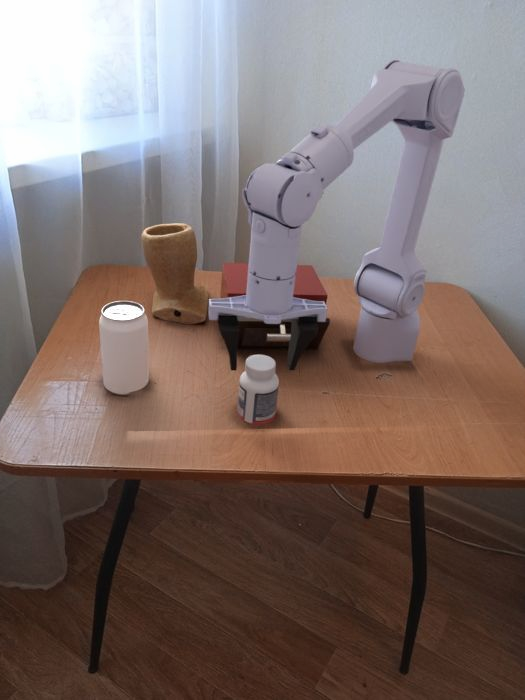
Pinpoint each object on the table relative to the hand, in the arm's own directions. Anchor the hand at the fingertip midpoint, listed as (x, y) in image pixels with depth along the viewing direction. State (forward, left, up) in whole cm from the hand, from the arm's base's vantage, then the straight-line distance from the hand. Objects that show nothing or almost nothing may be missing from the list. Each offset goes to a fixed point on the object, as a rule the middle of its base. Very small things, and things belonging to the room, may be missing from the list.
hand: (262, 366), depth 73 cm
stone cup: (+11, -32, -8) cm, 35 cm away
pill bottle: (0, 0, -8) cm, 8 cm away
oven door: (-5, -16, -8) cm, 18 cm away
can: (+18, -8, -8) cm, 21 cm away
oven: (-5, -24, -8) cm, 26 cm away
